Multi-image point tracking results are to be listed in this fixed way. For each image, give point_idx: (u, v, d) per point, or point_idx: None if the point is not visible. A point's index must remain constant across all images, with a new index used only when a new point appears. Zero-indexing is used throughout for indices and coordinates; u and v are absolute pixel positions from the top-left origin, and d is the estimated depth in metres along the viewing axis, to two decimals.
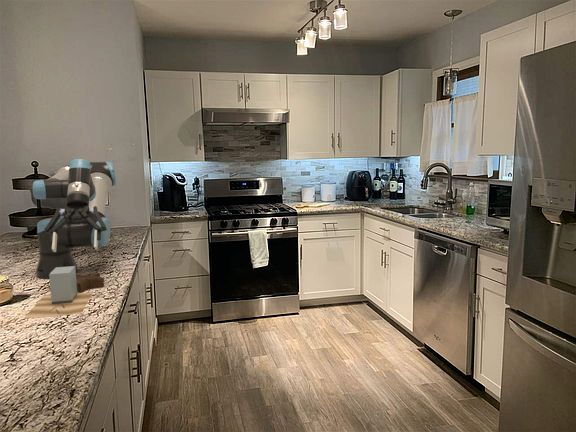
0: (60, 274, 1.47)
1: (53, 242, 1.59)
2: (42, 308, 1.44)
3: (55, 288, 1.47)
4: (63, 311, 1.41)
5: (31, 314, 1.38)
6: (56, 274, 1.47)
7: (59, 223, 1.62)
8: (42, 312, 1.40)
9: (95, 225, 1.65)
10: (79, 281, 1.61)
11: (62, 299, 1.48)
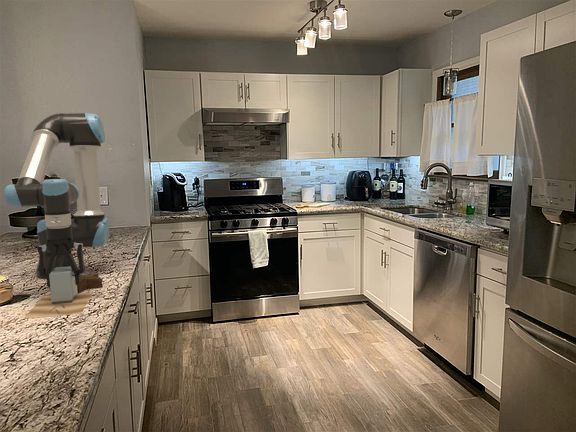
0: (60, 274, 1.47)
1: None
2: (42, 308, 1.44)
3: (55, 288, 1.47)
4: (63, 311, 1.41)
5: (31, 314, 1.38)
6: (56, 274, 1.47)
7: (50, 265, 1.49)
8: (42, 312, 1.40)
9: (73, 269, 1.51)
10: None
11: (62, 299, 1.48)
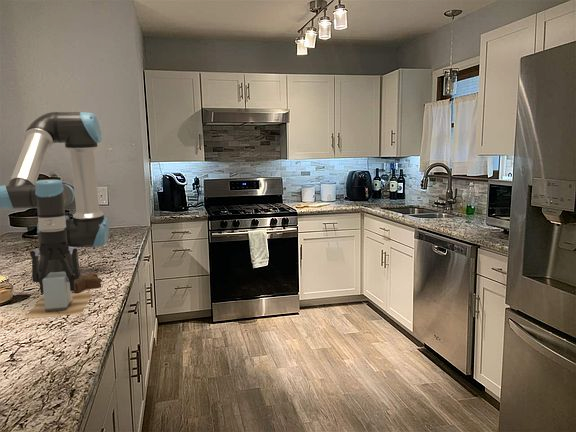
0: (54, 280, 1.40)
1: None
2: (42, 308, 1.44)
3: (48, 295, 1.40)
4: (63, 311, 1.41)
5: (31, 314, 1.38)
6: (50, 280, 1.39)
7: (44, 270, 1.41)
8: (42, 312, 1.40)
9: (68, 274, 1.43)
10: (76, 281, 1.60)
11: (56, 306, 1.41)
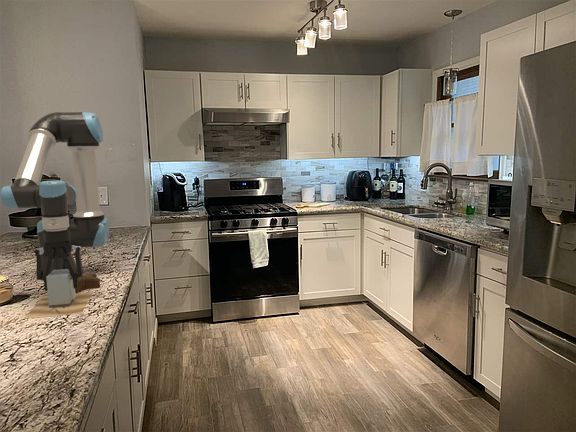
0: (57, 277, 1.44)
1: None
2: (42, 308, 1.44)
3: (52, 291, 1.44)
4: (63, 311, 1.41)
5: (31, 314, 1.38)
6: (53, 277, 1.43)
7: (48, 269, 1.46)
8: (42, 312, 1.40)
9: (71, 272, 1.48)
10: None
11: (60, 302, 1.45)
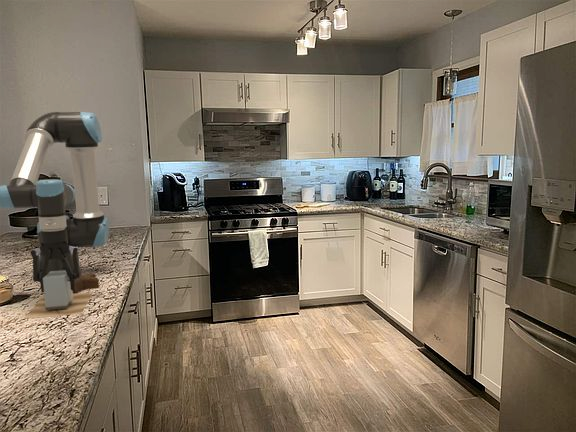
0: (54, 278, 1.40)
1: None
2: (42, 308, 1.44)
3: (49, 293, 1.40)
4: (63, 311, 1.41)
5: (31, 314, 1.38)
6: (50, 278, 1.40)
7: (44, 270, 1.42)
8: (42, 312, 1.40)
9: (69, 274, 1.44)
10: None
11: (56, 304, 1.41)
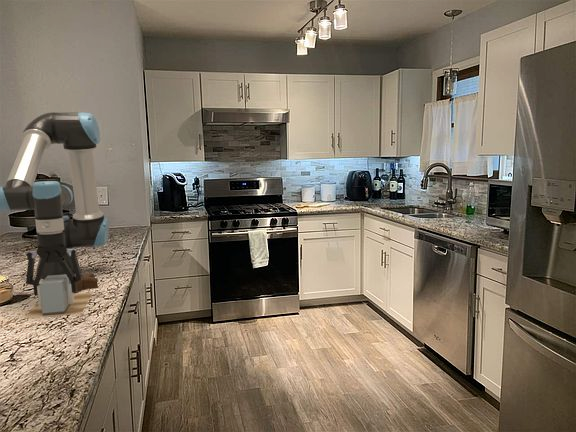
0: (52, 283, 1.37)
1: (39, 298, 1.40)
2: None
3: (46, 298, 1.37)
4: None
5: (31, 314, 1.38)
6: (47, 283, 1.36)
7: (39, 273, 1.39)
8: None
9: (69, 276, 1.41)
10: None
11: (54, 310, 1.38)
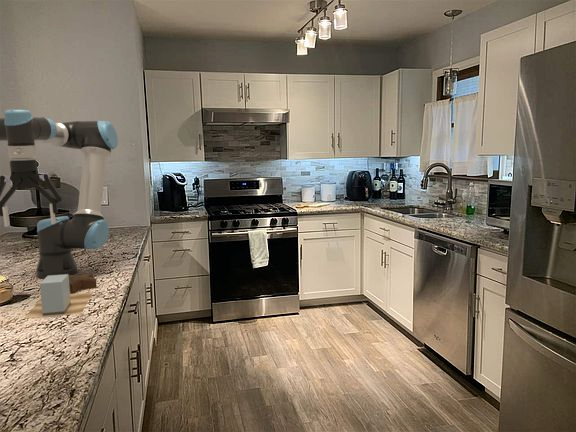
0: (52, 283, 1.37)
1: (5, 219, 1.46)
2: None
3: (46, 298, 1.37)
4: None
5: (31, 314, 1.38)
6: (47, 283, 1.36)
7: (7, 196, 1.45)
8: None
9: (49, 198, 1.49)
10: (71, 282, 1.60)
11: (54, 310, 1.38)
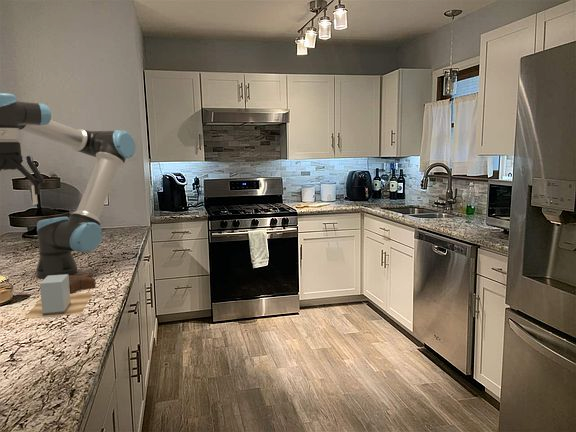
0: (52, 283, 1.37)
1: None
2: None
3: (46, 298, 1.37)
4: None
5: (31, 314, 1.38)
6: (47, 283, 1.36)
7: None
8: None
9: (31, 179, 1.54)
10: (70, 282, 1.60)
11: (54, 310, 1.38)
